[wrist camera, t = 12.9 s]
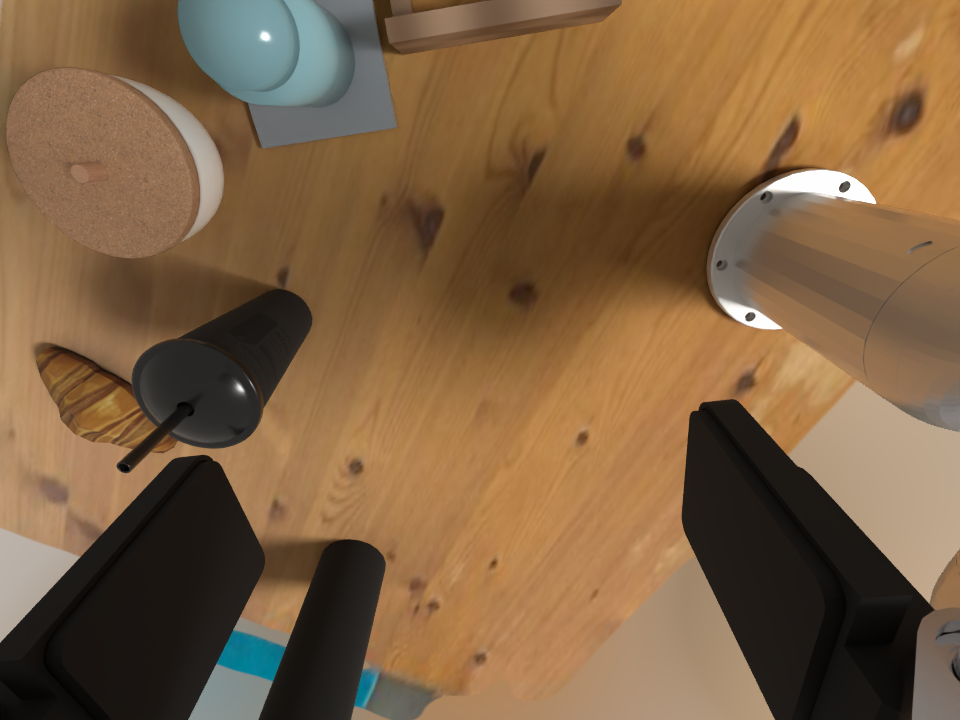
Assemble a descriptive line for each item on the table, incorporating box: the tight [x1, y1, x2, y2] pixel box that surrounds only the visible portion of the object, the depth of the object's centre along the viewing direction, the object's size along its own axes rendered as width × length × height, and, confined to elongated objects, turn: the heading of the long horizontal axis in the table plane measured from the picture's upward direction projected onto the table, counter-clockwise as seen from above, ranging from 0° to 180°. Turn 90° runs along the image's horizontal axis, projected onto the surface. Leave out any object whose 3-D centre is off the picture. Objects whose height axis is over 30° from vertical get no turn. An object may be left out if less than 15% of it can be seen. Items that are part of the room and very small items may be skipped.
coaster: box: [248, 0, 398, 149], centre depth 31 cm, size 10×10×1 cm
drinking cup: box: [117, 290, 312, 473], centre depth 31 cm, size 8×8×20 cm
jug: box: [178, 0, 355, 108], centre depth 25 cm, size 6×9×11 cm, turn 9°
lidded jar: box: [6, 67, 224, 259], centre depth 31 cm, size 11×11×9 cm
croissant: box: [36, 347, 178, 453], centre depth 42 cm, size 14×7×5 cm, turn 39°
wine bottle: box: [259, 540, 386, 720], centre depth 41 cm, size 8×8×30 cm
